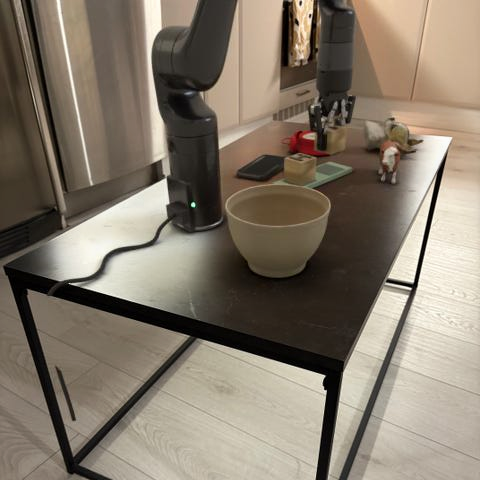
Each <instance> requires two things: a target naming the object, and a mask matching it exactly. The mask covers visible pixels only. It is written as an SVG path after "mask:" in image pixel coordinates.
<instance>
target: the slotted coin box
mask: <svg viewBox="0 0 480 480" xmlns="http://www.w3.org/2000/svg"><path fill="white" fill-rule="evenodd" d="M323 127H324V124H322V128H323ZM347 129H348V127H347V126H345V127H344V126H339V125H335V124H334V123H331V124H329V127H328V131H327V147H326V151H319V150H318V149H317V146H316V145H317V133H316V132H315V141H314V150H315V151H319V152H323V153H326V154H327V155H334V154H337V153H339V152H342V151H345V150H346V140H347Z"/></svg>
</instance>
